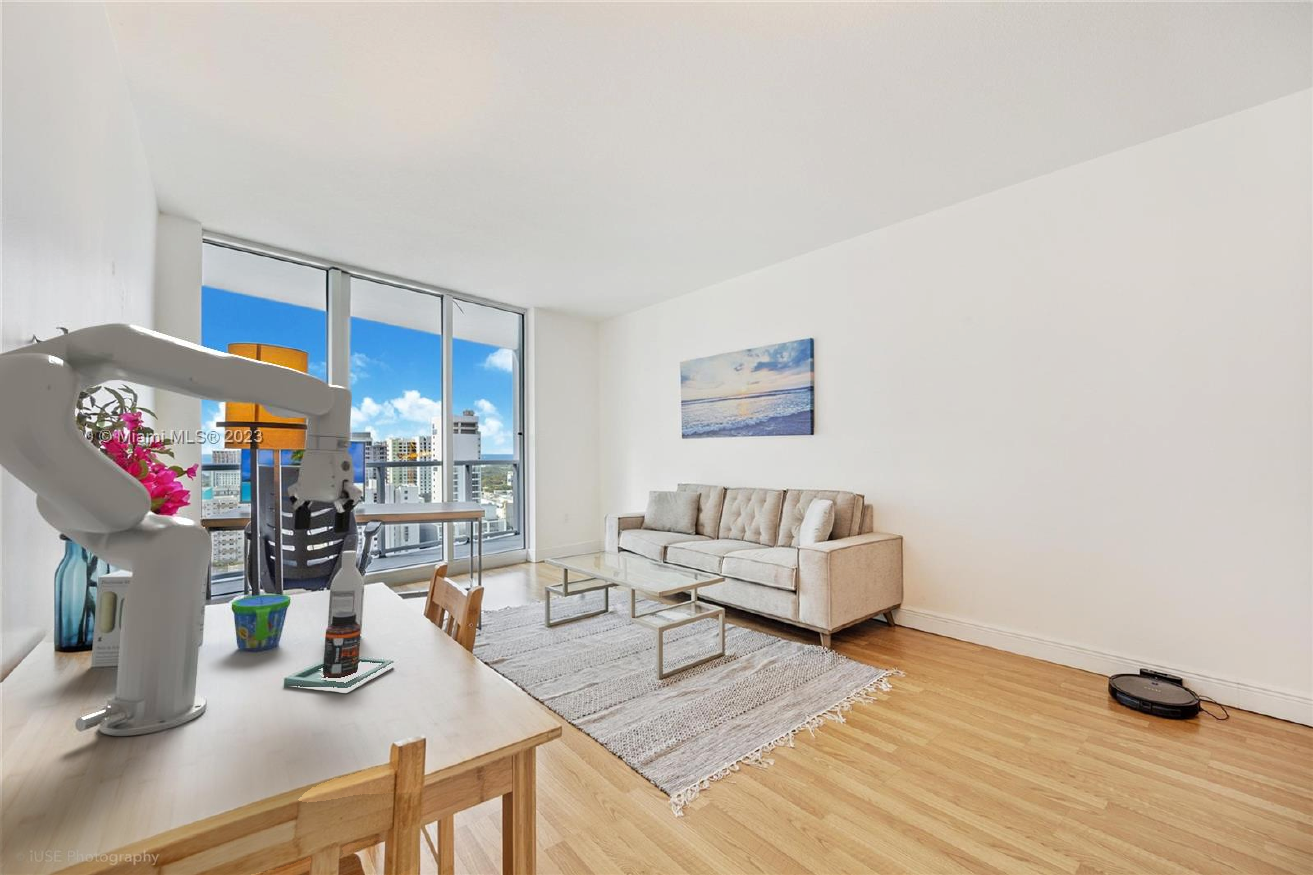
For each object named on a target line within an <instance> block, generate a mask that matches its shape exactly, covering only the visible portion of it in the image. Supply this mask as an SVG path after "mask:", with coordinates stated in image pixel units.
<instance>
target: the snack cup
mask: <svg viewBox="0 0 1313 875" xmlns="http://www.w3.org/2000/svg"><path fill="white" fill-rule="evenodd" d="M290 605H291V597H290V596H289V595H285V594H259V595H252V596H246V597H241V598H238V599H236V600H234V601H233V602H232V603H231V611H232V612H233V619H234V620H233V621H234V629H235V639H236V640H235V641H236V645H237V648H238V649H240V651H241V652H245V651H246V652H247V651H248V652H258V651H262V650H267V649H268V650H269V649H271V648H274V647H275V646H278V645H279V643H280V641H281V637H282V633H283V629H284V625H285V621H286V618H287V617H286V616H287V611H288V608H289V607H290Z"/></svg>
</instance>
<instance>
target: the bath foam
mask: <svg viewBox="0 0 1313 875" xmlns="http://www.w3.org/2000/svg"><path fill="white" fill-rule="evenodd" d="M357 554H358V553H357V551H356V550H344V551H342V552H341V568H340V569H338V571H337V573H336V574H335V575H334V577H333V579H332V581H331V583H330V588H329V602H328V604H329V606H328V618H327V619H328V620H327V628H328V627H329V626H330V625H331V624H332V618H333V615H334V614H336V613H339V612H355V613H356V622H357V623H358V624H359V625H360V627H361V632H360V633H361V634H362V629H363V617H364V615H363V613H364V595H365V594H364V593H365V581H364V578H363V576H362V573H360V571H359V569H358V568H357V566H356V564H357Z"/></svg>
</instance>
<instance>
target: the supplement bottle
mask: <svg viewBox="0 0 1313 875" xmlns="http://www.w3.org/2000/svg"><path fill="white" fill-rule="evenodd" d="M360 632H361V627H360V625H359V624H358V623H357V622H356V613H355V612H339V613H336V614H334V615H333V618H332V624H331V625H330V626H329V627H328V626H327V628H326V630H325V637H324V650H323V651H324V652H323V661H324V663H323V675H324V676H325V677H328V678H341V677H345V676H348V675H351V674H353V673H356V672H357V670H358V663H359V657H360V646H361V636H360V634H361V635H362V632H361V633H360Z"/></svg>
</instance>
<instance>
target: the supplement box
mask: <svg viewBox="0 0 1313 875" xmlns="http://www.w3.org/2000/svg"><path fill="white" fill-rule="evenodd" d="M208 571H209V568H208V569H207V572H206V576H205V581H204V586H203V594H202V604H201V621H200V635H199V646H201V645H202V644H203V643H204V627H205V616H206V615H205V614H206V613H205V611H206V601H207V600H206V598H207V585H208V574H209V573H208ZM132 573H133V572H129V571H125V570H121V569H119V570H118V571H113V572H110V573H107V574H103V575H100V576H98V577H97V587H96V588H97V589H96V590H97V591H96V601H95V611H94V612H95V613H94V624H93V625H94V627H93V637H92V651H91V661H90V662H91V664H90V667H91V668H102V667H118V661H119V648H120V636H121V619H122V609H123V602H124V598H125V595H126V591H127V589H128V586H129V583H130V580H131V577H132Z"/></svg>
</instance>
